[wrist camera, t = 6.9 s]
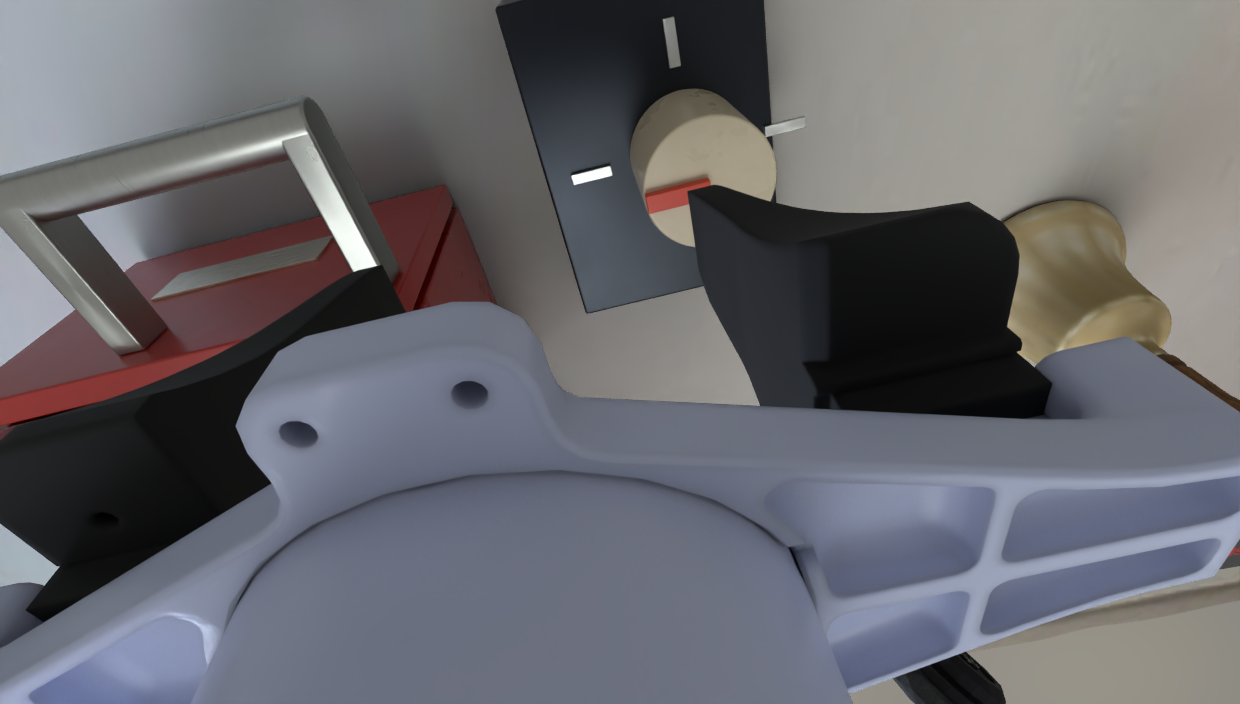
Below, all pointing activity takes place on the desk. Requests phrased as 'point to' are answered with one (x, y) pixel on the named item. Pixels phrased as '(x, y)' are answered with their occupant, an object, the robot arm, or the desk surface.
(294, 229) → the red drawer
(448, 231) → the cabinet
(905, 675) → the headphones
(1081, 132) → the desk surface
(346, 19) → the desk surface
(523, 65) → the panel
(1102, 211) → the hand bell
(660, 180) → the lock dial
